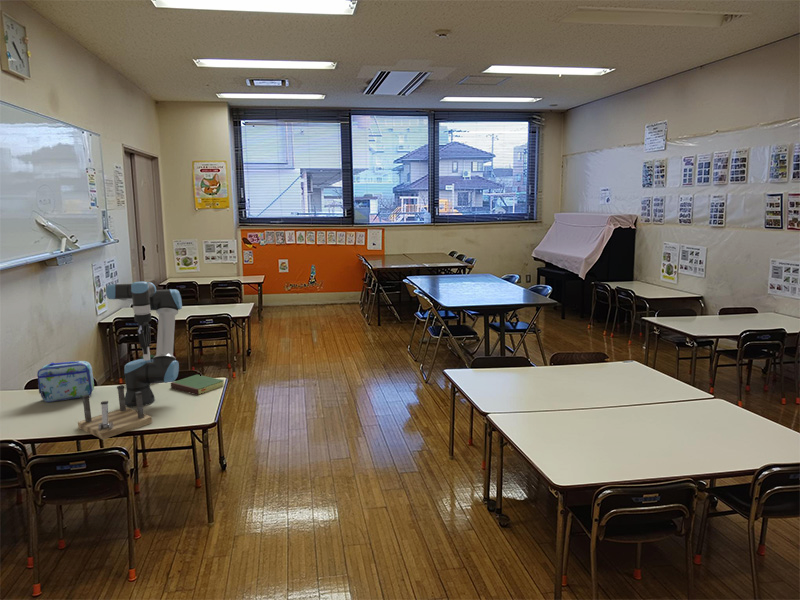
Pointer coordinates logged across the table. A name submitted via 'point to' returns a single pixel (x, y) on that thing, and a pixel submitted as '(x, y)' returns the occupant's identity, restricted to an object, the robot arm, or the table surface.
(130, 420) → the stool top
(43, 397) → the lunch box
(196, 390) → the hardcover book
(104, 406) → the hinged leg
